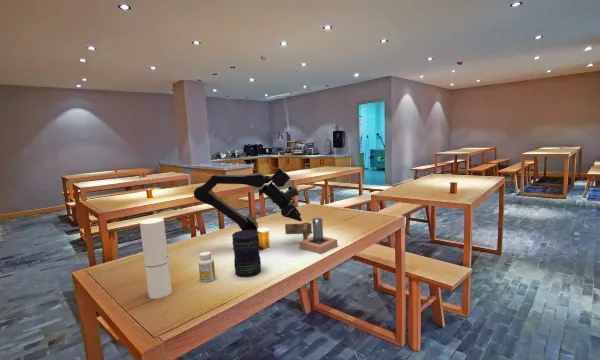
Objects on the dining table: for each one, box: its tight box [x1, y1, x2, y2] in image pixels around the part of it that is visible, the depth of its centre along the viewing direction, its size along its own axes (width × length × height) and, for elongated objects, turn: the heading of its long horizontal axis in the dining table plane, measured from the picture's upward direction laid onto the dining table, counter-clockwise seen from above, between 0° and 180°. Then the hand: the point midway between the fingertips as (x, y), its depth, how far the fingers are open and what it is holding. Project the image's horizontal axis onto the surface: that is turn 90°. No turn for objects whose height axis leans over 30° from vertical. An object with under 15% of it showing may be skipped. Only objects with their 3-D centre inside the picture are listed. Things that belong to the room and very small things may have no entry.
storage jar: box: [231, 230, 262, 279], centre depth 119 cm, size 10×10×15 cm
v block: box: [284, 221, 313, 241], centre depth 163 cm, size 10×16×5 cm, turn 40°
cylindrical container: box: [139, 217, 173, 300], centre depth 105 cm, size 7×7×25 cm
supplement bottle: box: [197, 251, 216, 283], centre depth 115 cm, size 5×5×10 cm
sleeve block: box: [299, 236, 338, 255], centre depth 143 cm, size 12×12×3 cm
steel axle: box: [312, 217, 324, 244], centre depth 142 cm, size 4×4×13 cm
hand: (300, 218), depth 143 cm, fingers open, 9 cm apart
